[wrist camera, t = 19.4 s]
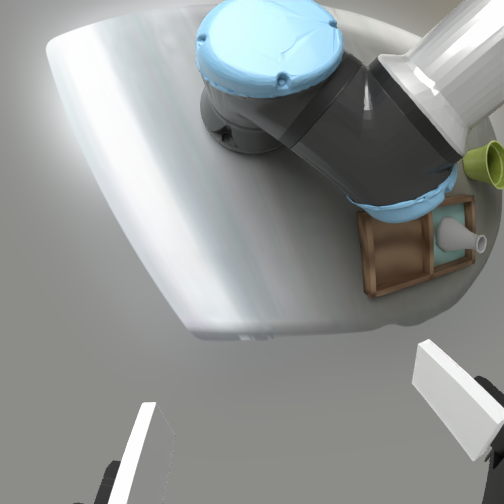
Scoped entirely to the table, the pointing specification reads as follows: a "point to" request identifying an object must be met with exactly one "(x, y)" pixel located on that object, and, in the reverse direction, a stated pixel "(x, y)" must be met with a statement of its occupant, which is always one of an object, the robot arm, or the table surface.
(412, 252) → the walnut caddy
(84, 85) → the table surface
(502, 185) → the plant pot
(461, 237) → the flask
